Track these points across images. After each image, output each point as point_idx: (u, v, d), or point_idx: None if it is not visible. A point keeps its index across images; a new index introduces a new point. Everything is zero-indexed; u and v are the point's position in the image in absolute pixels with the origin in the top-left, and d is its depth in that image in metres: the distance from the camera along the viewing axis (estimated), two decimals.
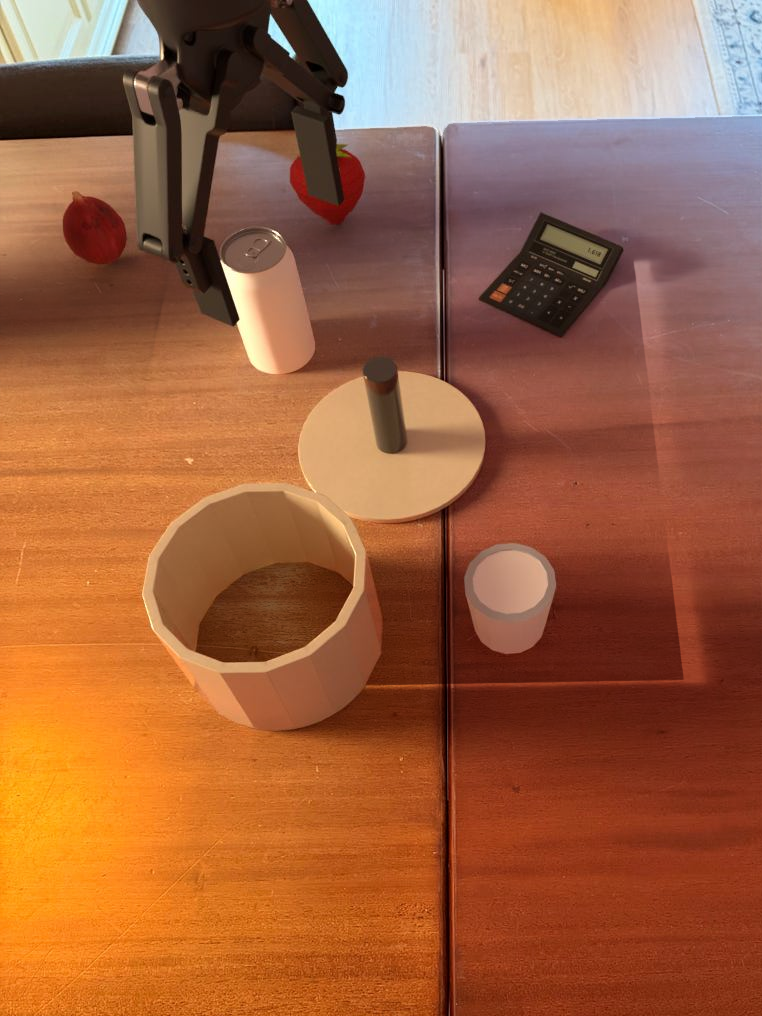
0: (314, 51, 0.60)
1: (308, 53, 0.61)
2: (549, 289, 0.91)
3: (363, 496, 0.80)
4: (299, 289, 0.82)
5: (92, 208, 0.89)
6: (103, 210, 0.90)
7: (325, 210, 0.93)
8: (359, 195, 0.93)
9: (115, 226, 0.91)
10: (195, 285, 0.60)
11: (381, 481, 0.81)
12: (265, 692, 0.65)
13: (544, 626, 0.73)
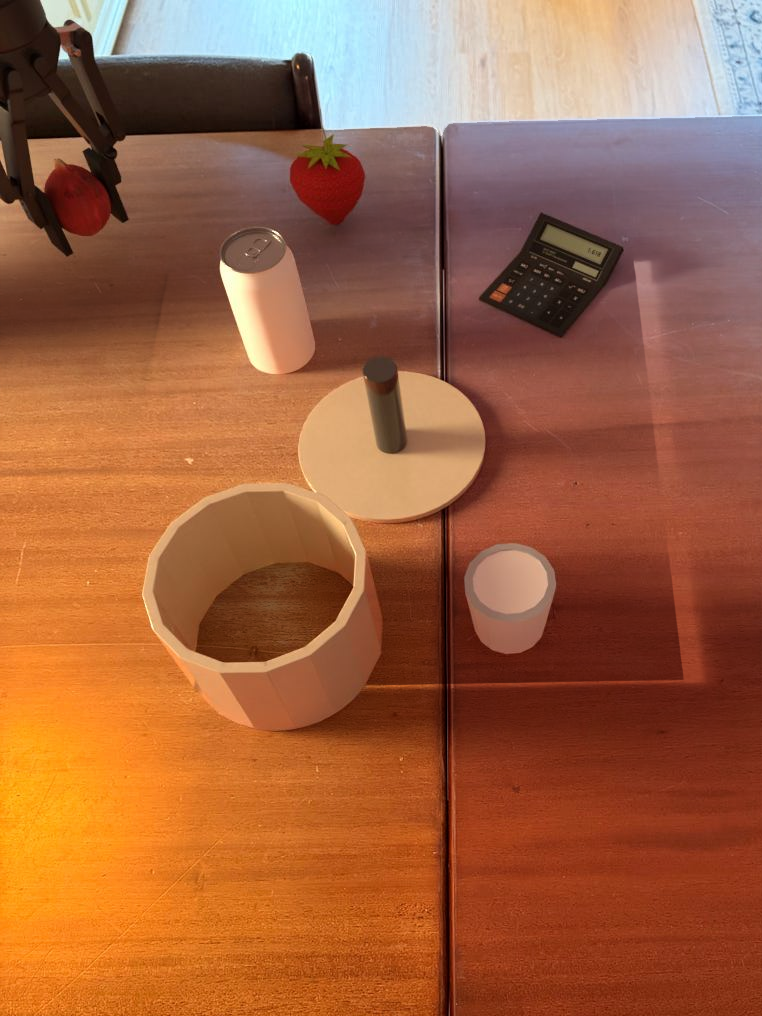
0: (97, 102, 0.84)
1: (95, 103, 0.85)
2: (549, 289, 0.91)
3: (363, 496, 0.80)
4: (299, 289, 0.82)
5: (75, 176, 0.86)
6: (86, 178, 0.87)
7: (325, 210, 0.93)
8: (359, 195, 0.93)
9: (98, 195, 0.88)
10: (33, 222, 0.87)
11: (381, 481, 0.81)
12: (265, 692, 0.65)
13: (544, 626, 0.73)
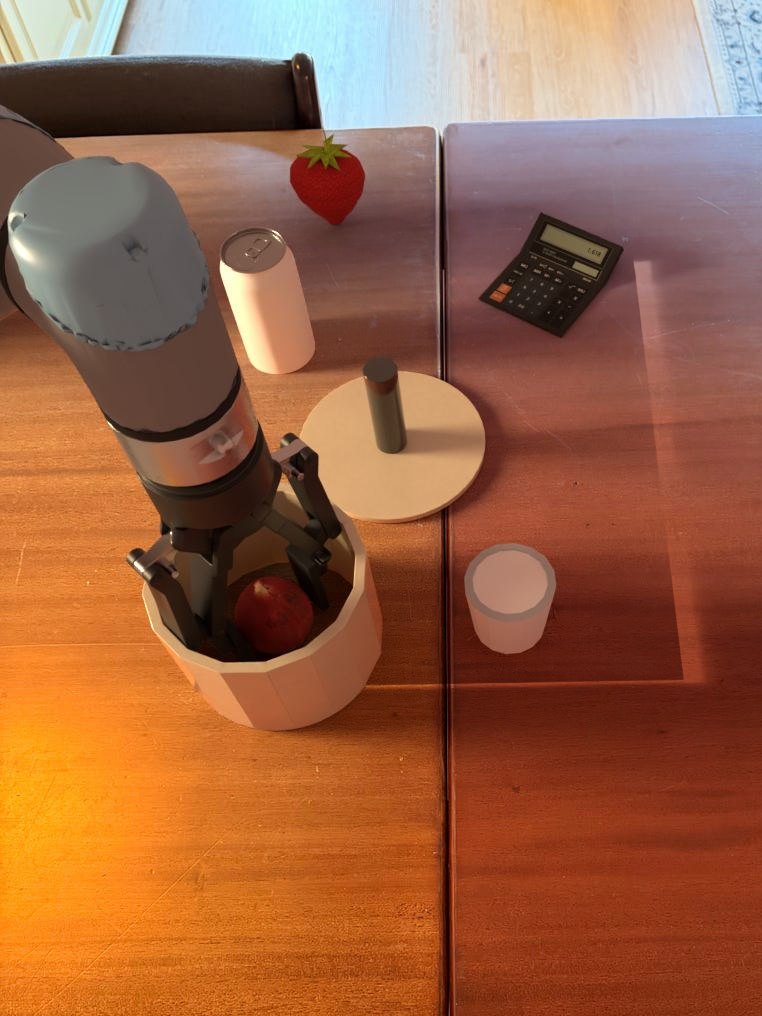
0: (314, 511, 0.65)
1: (309, 509, 0.66)
2: (549, 289, 0.91)
3: (363, 496, 0.80)
4: (299, 289, 0.82)
5: (279, 601, 0.68)
6: (291, 600, 0.69)
7: (325, 210, 0.93)
8: (359, 195, 0.93)
9: (304, 615, 0.70)
10: None
11: (381, 481, 0.81)
12: (265, 692, 0.65)
13: (544, 626, 0.73)
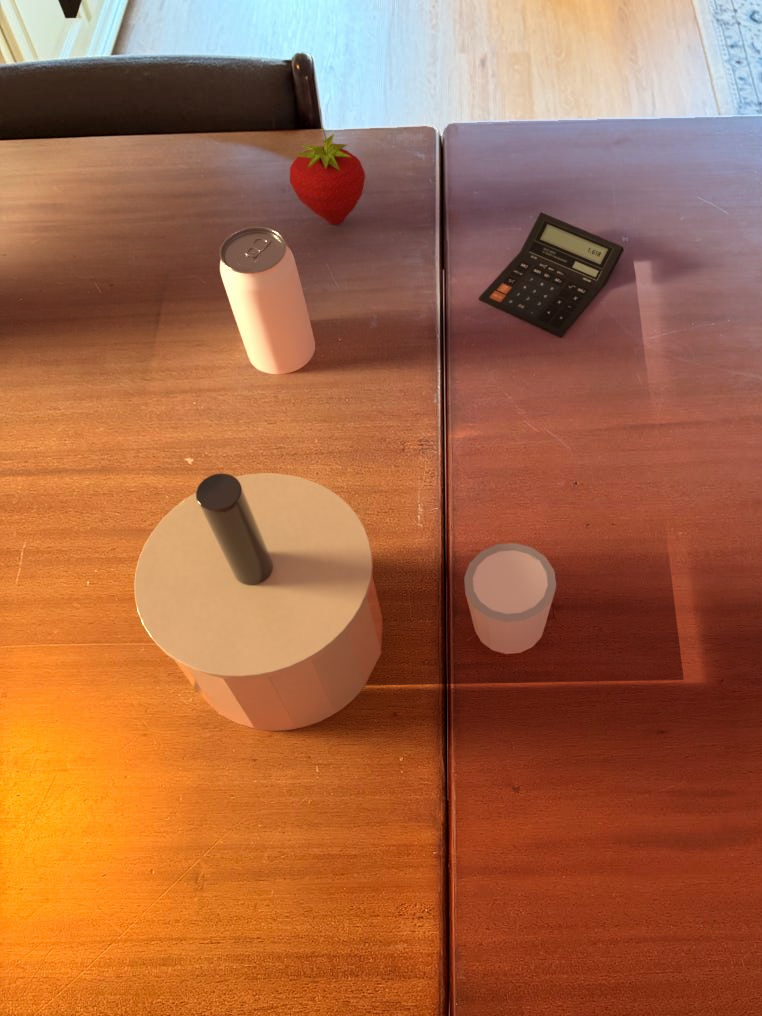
0: None
1: None
2: (549, 289, 0.91)
3: (210, 643, 0.63)
4: (299, 289, 0.82)
5: None
6: None
7: (325, 210, 0.93)
8: (359, 195, 0.93)
9: None
10: None
11: (235, 623, 0.63)
12: (265, 692, 0.65)
13: (544, 626, 0.73)
